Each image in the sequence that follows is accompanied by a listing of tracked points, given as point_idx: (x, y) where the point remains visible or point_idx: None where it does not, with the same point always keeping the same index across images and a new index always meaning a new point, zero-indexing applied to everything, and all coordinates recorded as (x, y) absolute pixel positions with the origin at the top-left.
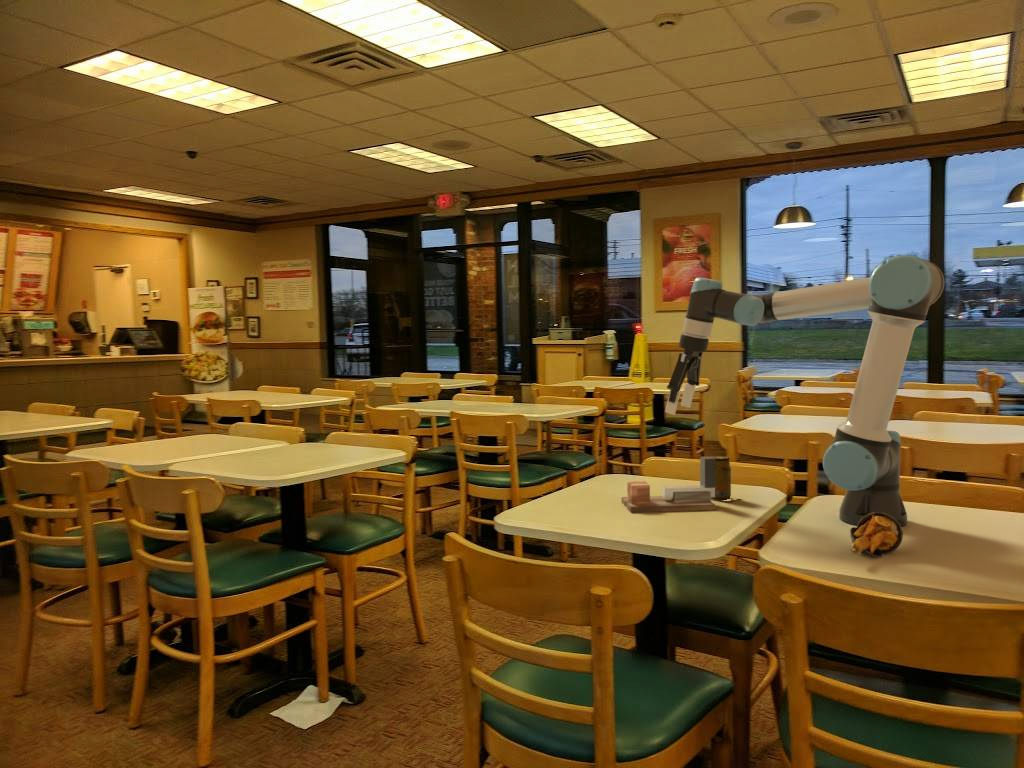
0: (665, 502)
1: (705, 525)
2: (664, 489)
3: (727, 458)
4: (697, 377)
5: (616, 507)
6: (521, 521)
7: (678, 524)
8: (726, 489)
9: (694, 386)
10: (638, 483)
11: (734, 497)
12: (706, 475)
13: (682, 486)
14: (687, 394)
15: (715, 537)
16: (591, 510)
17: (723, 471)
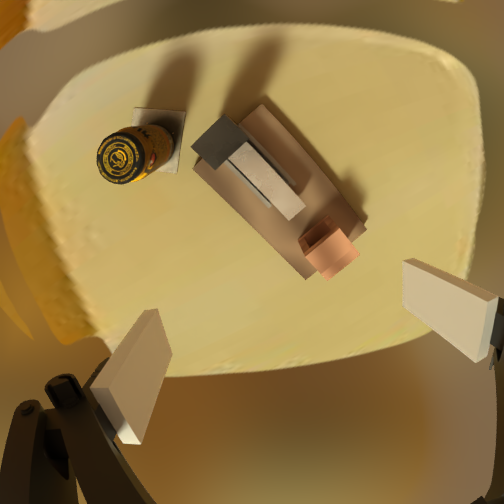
0: (304, 194)
1: (378, 83)
2: (303, 206)
3: (119, 134)
4: (39, 434)
5: None
6: None
7: (394, 124)
8: (156, 127)
9: (109, 386)
10: (335, 254)
11: (135, 124)
12: (244, 132)
13: (262, 184)
14: (146, 374)
15: (424, 58)
16: (374, 279)
17: (148, 133)
